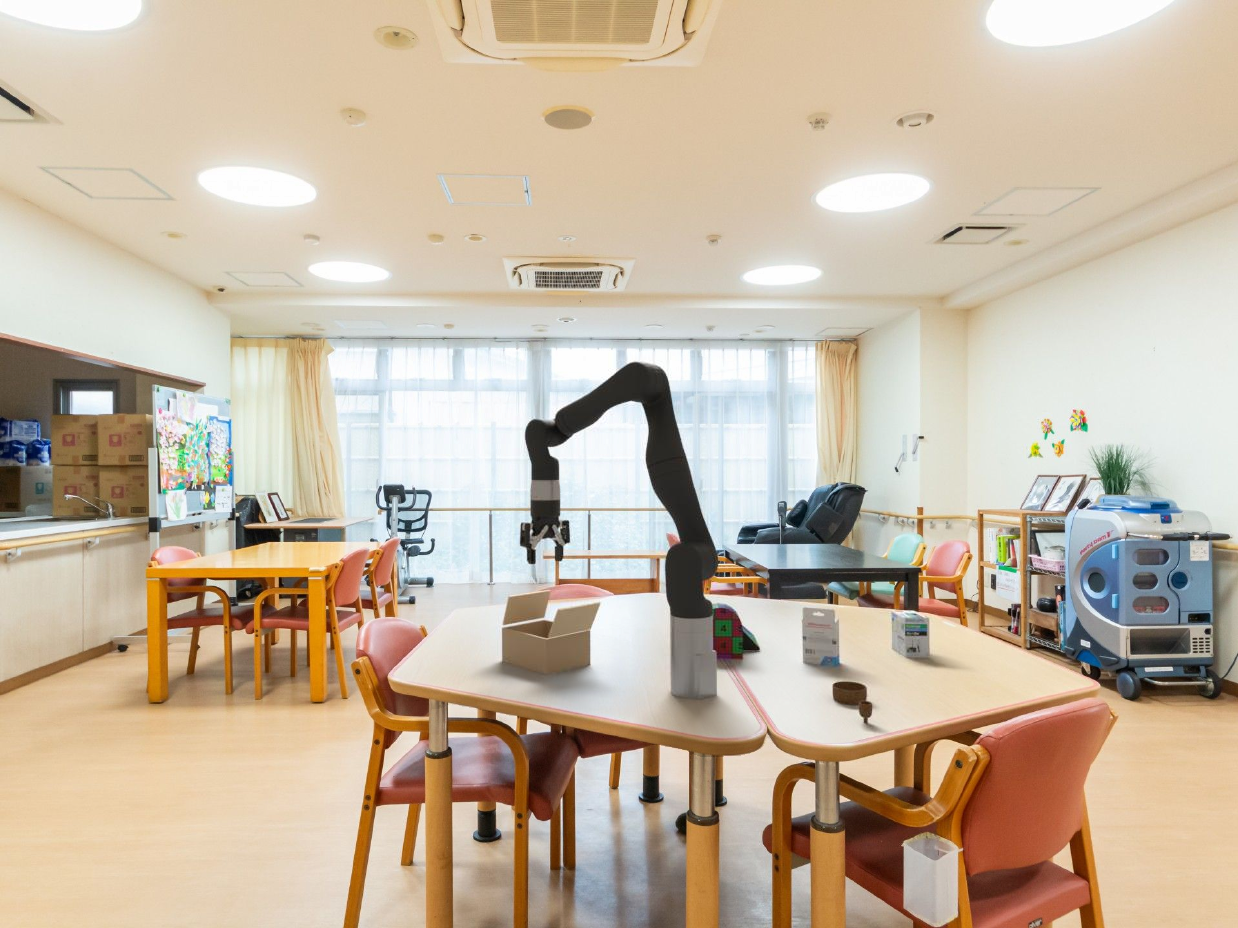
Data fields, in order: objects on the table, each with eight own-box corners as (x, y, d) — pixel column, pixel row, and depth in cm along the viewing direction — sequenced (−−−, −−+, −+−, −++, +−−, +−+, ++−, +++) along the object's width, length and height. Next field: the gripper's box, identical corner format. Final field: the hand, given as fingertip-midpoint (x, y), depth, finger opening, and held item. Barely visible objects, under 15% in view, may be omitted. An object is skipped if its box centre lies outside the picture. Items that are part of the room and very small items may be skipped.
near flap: (589, 627, 183) (590, 629, 183) (547, 636, 174) (549, 637, 174) (599, 601, 180) (600, 602, 180) (557, 608, 171) (559, 610, 171)
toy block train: (764, 662, 191) (763, 607, 191) (698, 661, 192) (698, 607, 192) (753, 639, 216) (753, 591, 216) (695, 639, 217) (695, 591, 217)
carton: (590, 669, 183) (590, 629, 183) (546, 681, 174) (546, 639, 174) (545, 656, 196) (545, 619, 196) (502, 666, 187) (501, 627, 187)
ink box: (840, 664, 188) (839, 606, 188) (836, 669, 183) (836, 609, 183) (806, 660, 192) (806, 603, 192) (802, 664, 187) (801, 606, 187)
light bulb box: (930, 658, 193) (930, 617, 193) (904, 658, 193) (904, 617, 193) (915, 648, 204) (914, 609, 204) (890, 648, 204) (890, 609, 204)
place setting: (901, 708, 155) (900, 680, 155) (874, 737, 138) (873, 706, 138) (820, 694, 165) (819, 668, 165) (785, 720, 148) (785, 690, 148)
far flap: (550, 590, 194) (549, 589, 194) (509, 596, 185) (508, 595, 185) (544, 617, 196) (543, 616, 196) (503, 625, 187) (502, 624, 187)
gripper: (531, 499, 177) (532, 566, 177) (576, 497, 187) (576, 561, 187) (513, 498, 183) (513, 563, 183) (557, 496, 193) (557, 558, 193)
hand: (545, 562), depth 185 cm, fingers open, 8 cm apart
